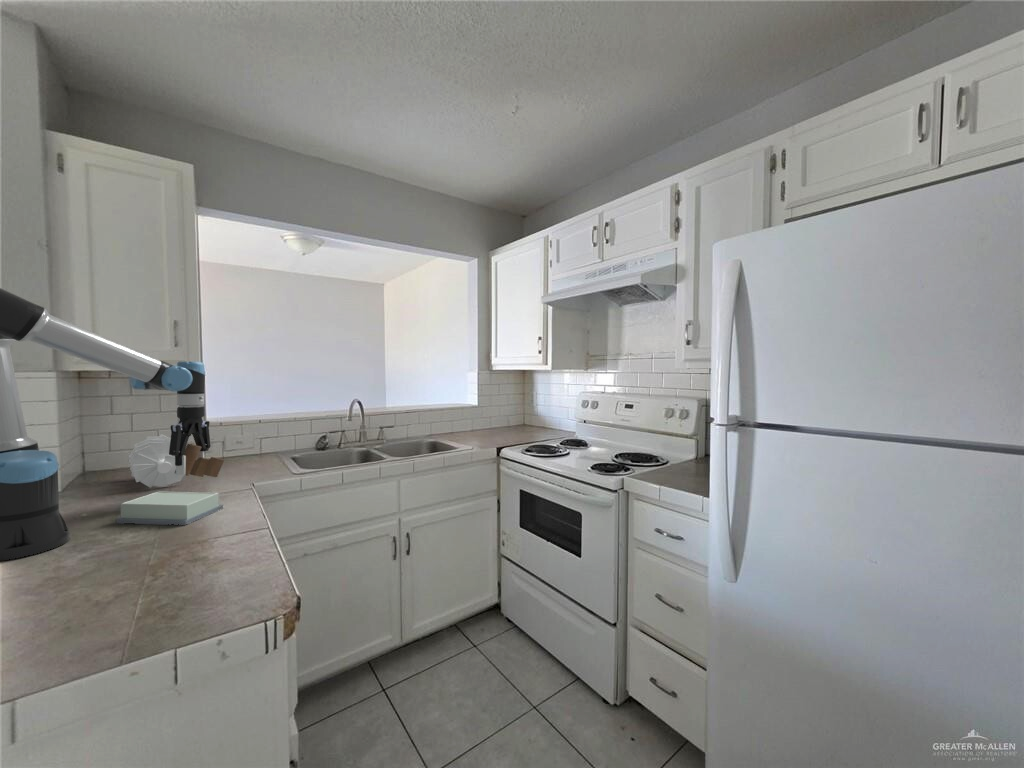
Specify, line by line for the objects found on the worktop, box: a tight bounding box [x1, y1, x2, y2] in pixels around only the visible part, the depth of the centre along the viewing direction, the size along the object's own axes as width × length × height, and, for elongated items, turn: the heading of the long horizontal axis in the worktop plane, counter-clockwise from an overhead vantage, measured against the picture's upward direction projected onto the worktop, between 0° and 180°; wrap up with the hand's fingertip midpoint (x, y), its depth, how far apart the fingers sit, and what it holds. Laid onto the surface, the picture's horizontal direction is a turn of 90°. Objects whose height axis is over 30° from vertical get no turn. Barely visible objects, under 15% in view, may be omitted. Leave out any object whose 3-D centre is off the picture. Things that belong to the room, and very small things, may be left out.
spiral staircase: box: [127, 433, 186, 489], centre depth 160 cm, size 18×18×25 cm
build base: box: [115, 491, 224, 526], centre depth 124 cm, size 14×21×5 cm, turn 87°
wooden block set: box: [175, 443, 225, 478], centre depth 143 cm, size 18×9×10 cm, turn 67°
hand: (190, 472), depth 142 cm, fingers closed on wooden block set, 7 cm apart
